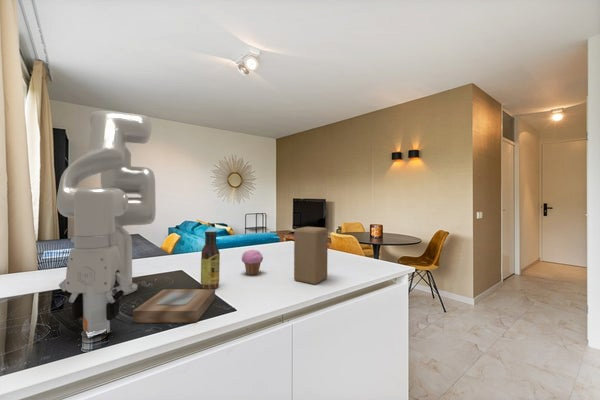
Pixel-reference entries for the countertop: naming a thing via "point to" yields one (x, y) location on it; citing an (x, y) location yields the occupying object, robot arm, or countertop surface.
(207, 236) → the sauce bottle
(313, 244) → the wooden block
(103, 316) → the skincare box
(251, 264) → the cupcake
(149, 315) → the walnut picture frame
